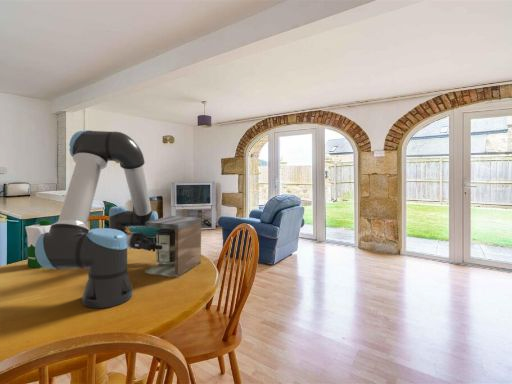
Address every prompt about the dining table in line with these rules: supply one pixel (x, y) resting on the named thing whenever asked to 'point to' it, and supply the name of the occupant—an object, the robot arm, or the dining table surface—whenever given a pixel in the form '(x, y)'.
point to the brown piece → (180, 244)
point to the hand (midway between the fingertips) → (176, 245)
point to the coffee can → (165, 238)
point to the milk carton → (32, 237)
